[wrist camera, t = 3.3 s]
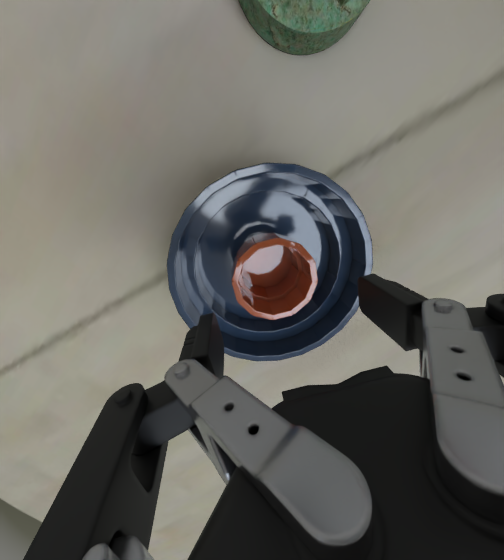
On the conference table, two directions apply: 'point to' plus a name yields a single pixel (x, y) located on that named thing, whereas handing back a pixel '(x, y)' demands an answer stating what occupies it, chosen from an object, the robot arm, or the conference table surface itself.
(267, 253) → the small bowl
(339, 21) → the decorative artifact
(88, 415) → the conference table surface
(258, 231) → the large bowl
